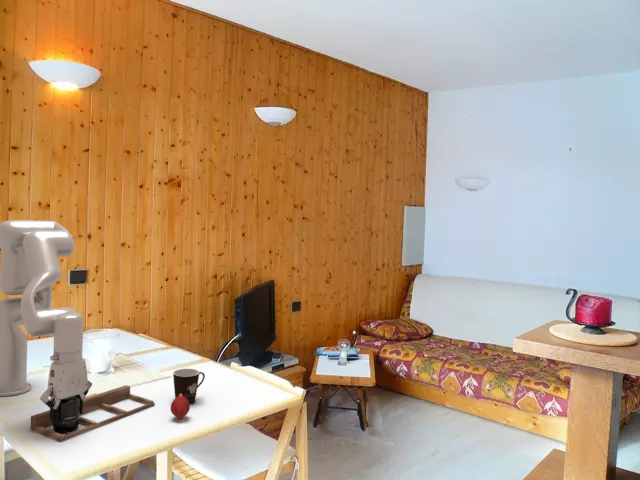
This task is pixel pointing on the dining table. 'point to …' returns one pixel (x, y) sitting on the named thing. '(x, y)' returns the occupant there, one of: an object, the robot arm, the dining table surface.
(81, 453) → the dining table surface
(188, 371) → the coffee mug
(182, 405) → the onion
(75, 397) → the supplement bottle
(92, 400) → the divided wooden rack
